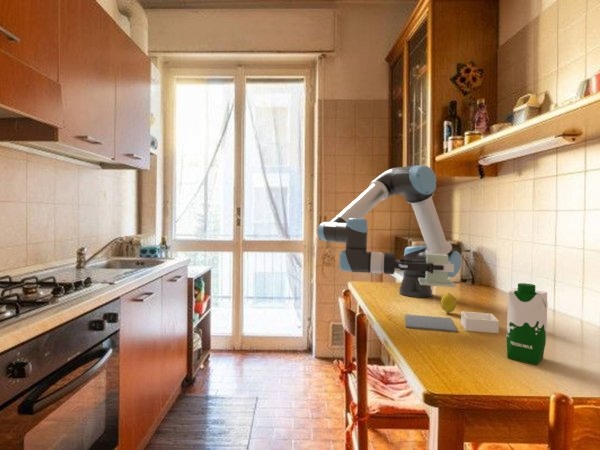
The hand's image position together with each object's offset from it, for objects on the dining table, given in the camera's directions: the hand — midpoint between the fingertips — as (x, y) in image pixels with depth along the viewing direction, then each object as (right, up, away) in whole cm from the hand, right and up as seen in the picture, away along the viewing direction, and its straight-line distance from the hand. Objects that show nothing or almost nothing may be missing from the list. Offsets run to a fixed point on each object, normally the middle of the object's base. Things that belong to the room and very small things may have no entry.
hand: (451, 266), depth 136 cm
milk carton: (+8, -21, -30) cm, 38 cm away
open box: (+8, -20, -2) cm, 22 cm away
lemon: (+5, -20, +17) cm, 27 cm away
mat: (-7, -20, +2) cm, 21 cm away
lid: (-5, -6, +1) cm, 8 cm away
